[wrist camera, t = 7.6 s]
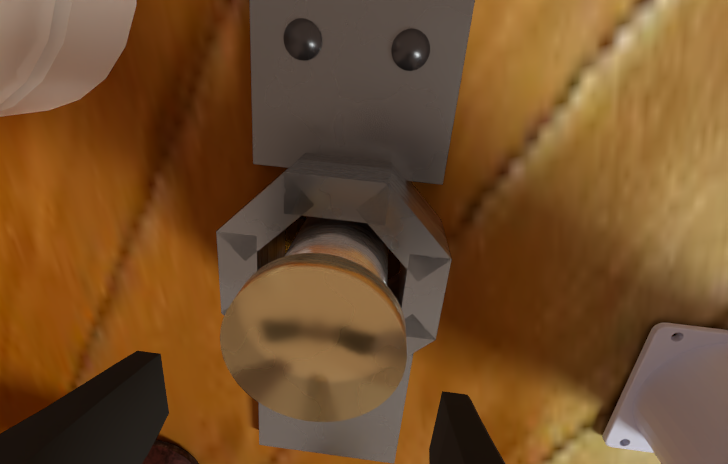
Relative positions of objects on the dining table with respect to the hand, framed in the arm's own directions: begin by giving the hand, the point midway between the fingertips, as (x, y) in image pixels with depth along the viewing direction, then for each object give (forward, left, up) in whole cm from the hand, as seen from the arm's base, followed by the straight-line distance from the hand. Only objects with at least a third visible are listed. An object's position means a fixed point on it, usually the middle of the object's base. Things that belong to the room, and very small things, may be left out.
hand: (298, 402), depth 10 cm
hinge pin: (0, -1, -9) cm, 9 cm away
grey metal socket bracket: (0, 0, -9) cm, 9 cm away
